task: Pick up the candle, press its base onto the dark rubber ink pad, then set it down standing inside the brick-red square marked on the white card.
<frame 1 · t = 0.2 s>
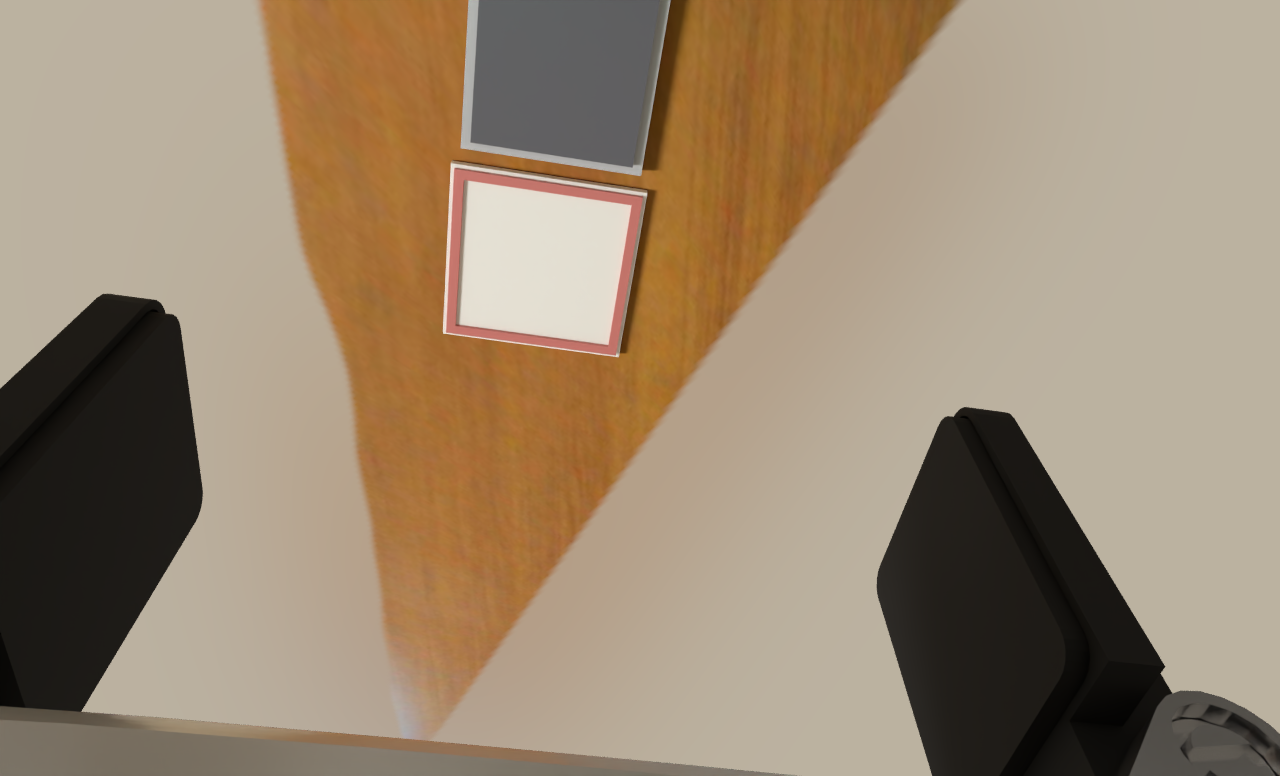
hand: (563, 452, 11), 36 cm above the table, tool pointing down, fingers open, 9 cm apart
ink pad: (563, 66, 43), on the table
marked card: (541, 263, 49), on the table
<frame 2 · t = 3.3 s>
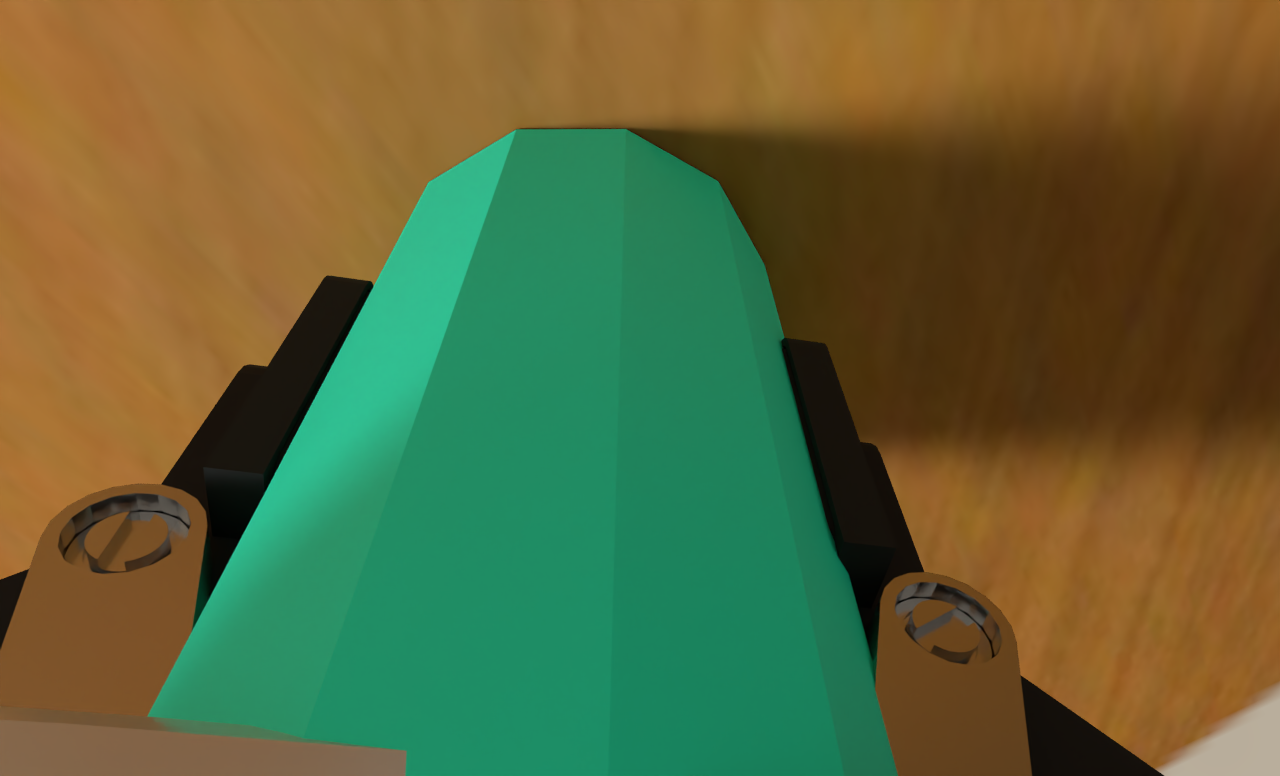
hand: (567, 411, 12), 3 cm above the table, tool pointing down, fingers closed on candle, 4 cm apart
candle: (579, 303, 15), on the table, touching gripper
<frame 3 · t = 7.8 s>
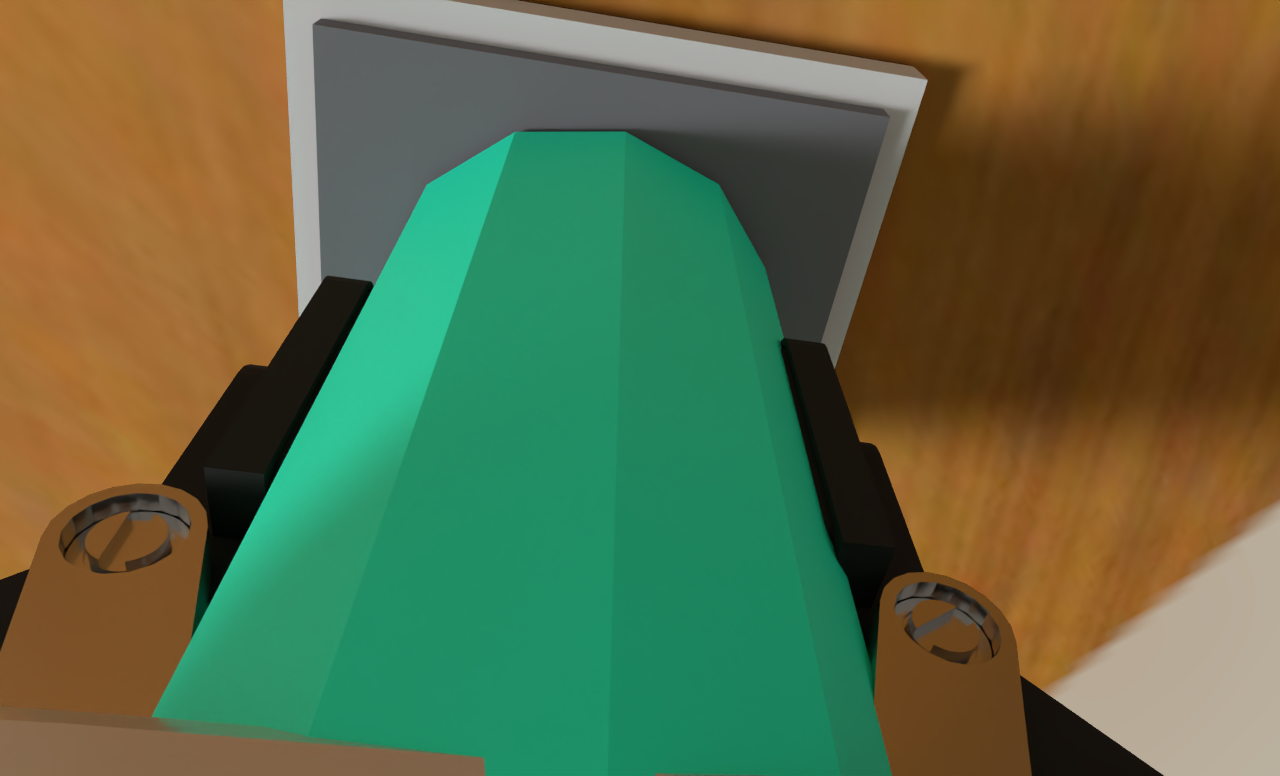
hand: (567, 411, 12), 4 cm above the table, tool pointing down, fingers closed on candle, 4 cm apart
ink pad: (578, 291, 16), on the table
candle: (579, 306, 15), point 1 cm above the table, touching gripper
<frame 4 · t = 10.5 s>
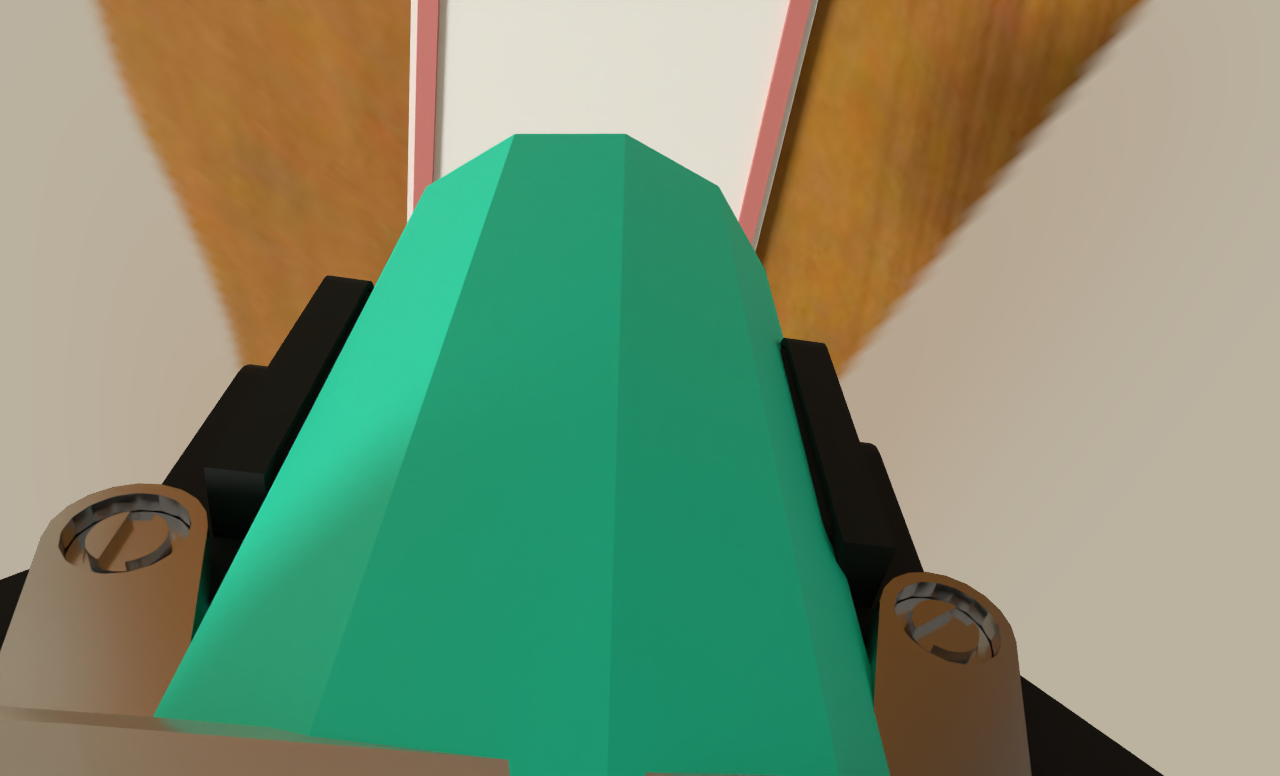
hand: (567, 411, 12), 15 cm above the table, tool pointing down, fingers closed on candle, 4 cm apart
candle: (578, 308, 14), point 12 cm above the table, touching gripper
marked card: (601, 96, 24), on the table
when the fingers open (4 cm above the table, at t = 12.6 s): candle drops 1 cm, resting on marked card.
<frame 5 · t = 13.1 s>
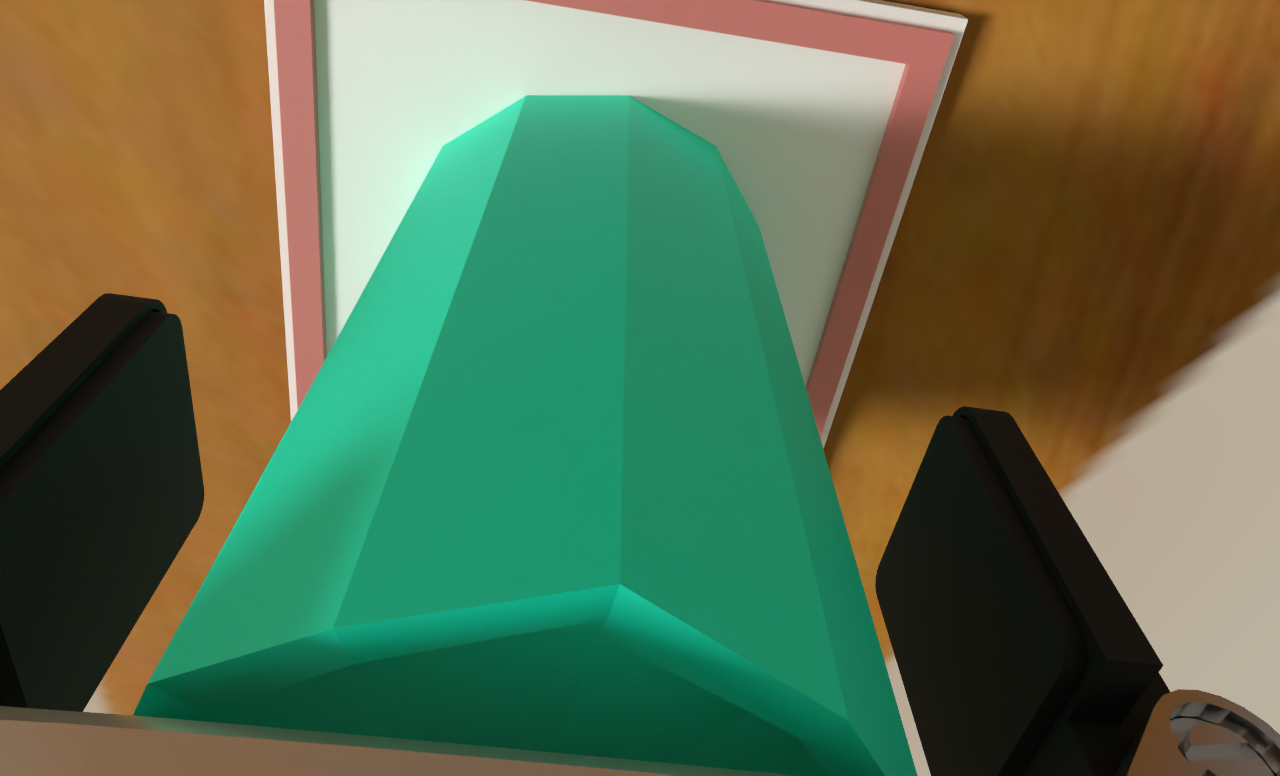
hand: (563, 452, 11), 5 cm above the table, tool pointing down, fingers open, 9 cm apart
candle: (584, 264, 15), resting on marked card
marked card: (582, 269, 16), on the table
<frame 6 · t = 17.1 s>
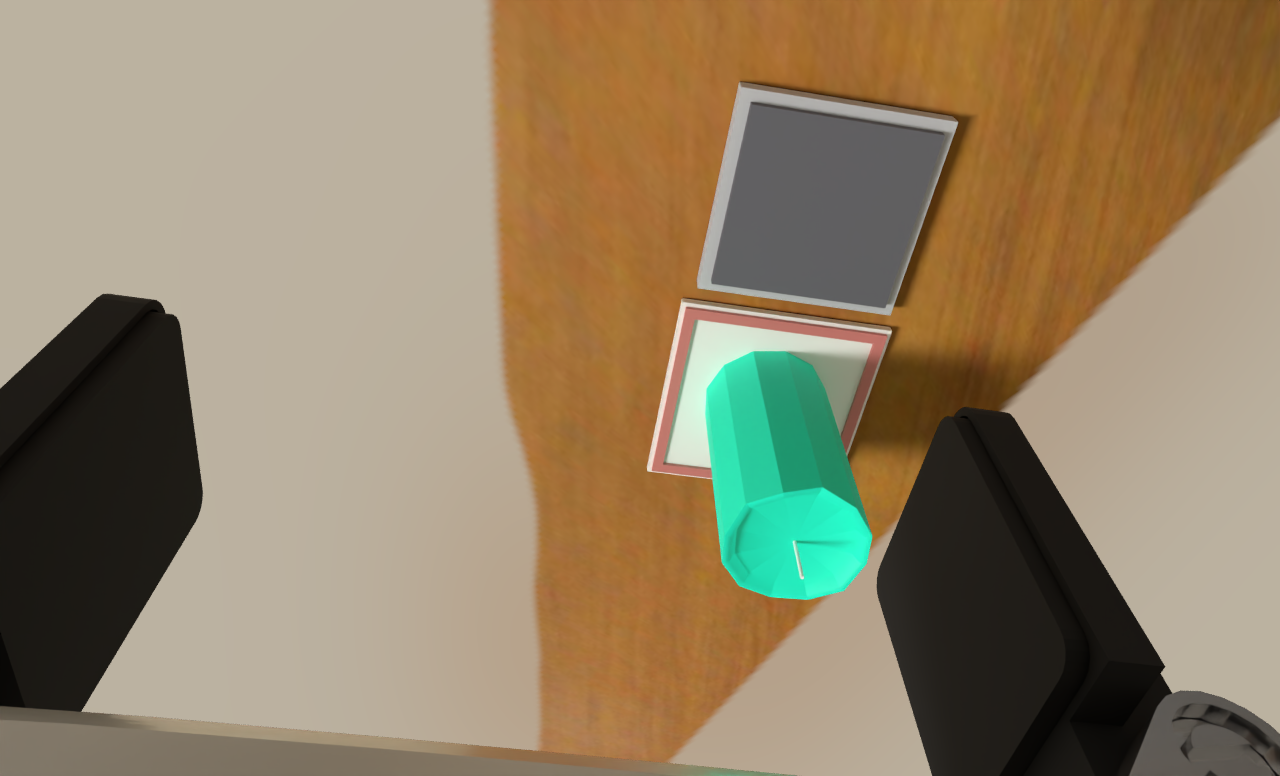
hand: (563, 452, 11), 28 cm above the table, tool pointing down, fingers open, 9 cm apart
ink pad: (818, 202, 39), on the table
candle: (764, 399, 45), resting on marked card
marked card: (762, 400, 45), on the table
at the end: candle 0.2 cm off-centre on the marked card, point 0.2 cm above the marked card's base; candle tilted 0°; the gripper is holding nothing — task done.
